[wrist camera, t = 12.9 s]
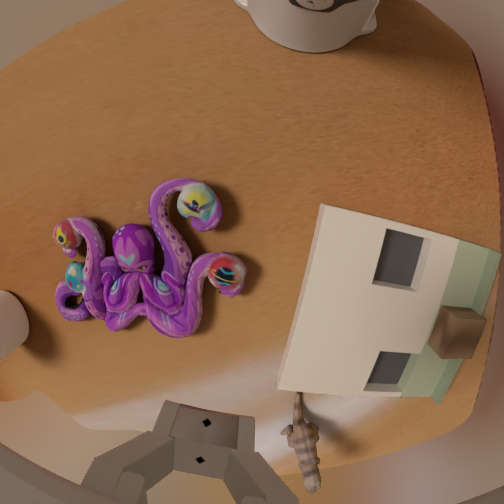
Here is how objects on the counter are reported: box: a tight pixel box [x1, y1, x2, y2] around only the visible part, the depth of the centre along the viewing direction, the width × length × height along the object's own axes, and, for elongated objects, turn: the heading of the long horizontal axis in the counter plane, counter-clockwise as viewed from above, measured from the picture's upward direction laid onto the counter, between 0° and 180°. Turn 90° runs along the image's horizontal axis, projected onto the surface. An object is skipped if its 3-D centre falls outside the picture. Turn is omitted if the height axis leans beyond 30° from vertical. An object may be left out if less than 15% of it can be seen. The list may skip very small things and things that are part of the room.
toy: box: [280, 391, 321, 494], centre depth 40 cm, size 7×17×10 cm
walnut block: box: [427, 305, 487, 359], centre depth 35 cm, size 6×6×4 cm
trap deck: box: [277, 203, 501, 403], centre depth 37 cm, size 25×27×4 cm
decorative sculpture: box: [53, 178, 248, 338], centre depth 37 cm, size 29×5×20 cm
